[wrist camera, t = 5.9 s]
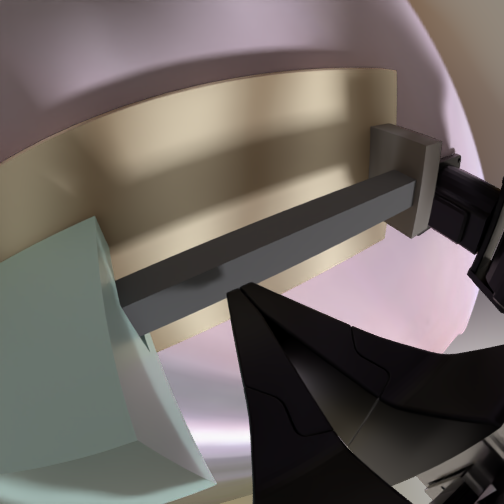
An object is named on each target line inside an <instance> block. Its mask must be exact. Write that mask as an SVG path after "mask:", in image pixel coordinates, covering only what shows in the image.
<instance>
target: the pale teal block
mask: <svg viewBox="0 0 504 504" xmlns="http://www.w3.org/2000/svg"><path fill="white" fill-rule="evenodd" d="M214 485H217V483H216V481H215V480H214V478H213V476H212V474H211V472H210V470H209V469H208V467H207V465H206V463H205V461H204V459H203V457H202V455H201V453H200V451H199V449H198V447H197V445H196V443H195V441H194V439H193V437H192V435H191V433H190V431H189V429H188V427H187V425H186V422H185V420H184V418H183V416H182V414H181V411H180V409H179V407H178V405H177V402H176V400H175V398H174V395H173V393H172V390H171V388H170V386H169V383H168V381H167V378H166V376H165V373H164V371H163V368H162V365H161V363H160V360H159V357H158V355H157V352H156V349H155V347H154V344H153V341H152V338H151V335H150V333H147V334H145V335H143V336H140V337H139V335H138V333H137V332H136V330H135V329H134V327H133V326H132V324H131V322H130V321H129V319H128V318H127V316H126V314H125V313H124V311H123V309H122V308H121V306H120V303H119V298H118V294H117V289H116V284H115V279H114V273H113V268H112V262H111V256H110V250H109V246H108V244H107V242H106V240H105V238H104V235H103V233H102V231H101V229H100V226H99V224H98V222H97V219H96V217H95V216H93V217H91V218H88V219H86V220H84V221H82V222H80V223H77V224H75V225H73V226H71V227H69V228H67V229H65V230H63V231H60V232H58V233H56V234H54V235H52V236H50V237H48V238H46V239H44V240H42V241H40V242H38V243H36V244H34V245H32V246H31V247H29V248H27V249H25V250H23V251H21V252H19V253H17V254H15V255H14V256H12V257H10V258H8V259H6V260H5V261H3V262H1V263H0V504H164V503H167V502H170V501H173V500H176V499H179V498H182V497H185V496H188V495H191V494H194V493H196V492H199V491H202V490H204V489H207V488H210V487H212V486H214Z"/></svg>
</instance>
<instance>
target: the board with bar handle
mask: <svg viewBox="0 0 504 504" xmlns="http://www.w3.org/2000/svg"><path fill="white" fill-rule="evenodd" d="M396 116H397V71H396V70H390V69H383V68H321V69H305V70H292V71H282V72H273V73H265V74H258V75H251V76H244V77H238V78H232V79H227V80H221V81H216V82H211V83H207V84H202V85H197V86H193V87H189V88H185V89H181V90H177V91H173V92H169V93H165V94H162V95H158V96H155V97H151V98H148V99H145V100H142V101H138V102H135V103H132V104H129V105H126V106H123V107H120V108H118V109H115V110H112V111H109V112H106V113H104V114H101V115H99V116H96V117H93V118H91V119H88V120H86V121H84V122H81V123H79V124H76V125H74V126H72V127H69V128H67V129H65V130H63V131H61V132H58V133H56V134H54V135H52V136H50V137H48V138H46V139H44V140H42V141H40V142H38V143H36V144H34V145H32V146H30V147H28V148H26V149H24V150H23V151H21V152H19V153H17V154H15V155H14V156H12V157H10V158H8V159H7V160H5V161H3V162H2V163H0V263H1V262H3V261H5V260H6V259H8V258H10V257H12V256H14V255H15V254H17V253H19V252H21V251H23V250H25V249H27V248H29V247H31V246H32V245H34V244H36V243H38V242H40V241H42V240H44V239H46V238H48V237H50V236H52V235H54V234H56V233H58V232H60V231H63V230H65V229H67V228H69V227H71V226H73V225H75V224H77V223H80V222H82V221H84V220H86V219H88V218H91V217H93V216H95V217H96V219H97V222H98V224H99V226H100V229H101V231H102V233H103V235H104V238H105V240H106V242H107V244H108V246H109V250H110V256H111V262H112V268H113V273H114V279H115V280H118V279H120V278H122V277H125V276H127V275H129V274H132V273H134V272H136V271H138V270H141V269H143V268H145V267H148V266H150V265H152V264H155V263H157V262H160V261H162V260H164V259H167V258H169V257H171V256H174V255H176V254H179V253H181V252H183V251H186V250H188V249H190V248H193V247H195V246H198V245H200V244H203V243H205V242H207V241H210V240H212V239H215V238H217V237H220V236H222V235H225V234H227V233H229V232H232V231H234V230H237V229H239V228H242V227H244V226H247V225H249V224H252V223H254V222H257V221H259V220H262V219H265V218H267V217H270V216H272V215H275V214H277V213H280V212H282V211H285V210H287V209H290V208H293V207H295V206H298V205H300V204H303V203H306V202H308V201H311V200H313V199H316V198H319V197H321V196H324V195H327V194H329V193H332V192H335V191H337V190H340V189H343V188H345V187H348V186H351V185H353V184H356V183H359V182H361V181H364V180H367V179H370V178H372V177H375V176H378V175H381V174H383V173H386V172H389V171H392V170H396V171H399V172H401V173H403V174H405V175H407V176H409V177H411V178H414V179H416V180H417V181H416V188H415V195H414V201H413V206H412V207H410V208H408V209H406V210H404V211H402V212H400V213H398V214H396V215H395V216H393V217H391V218H389V219H387V220H385V221H383V222H381V223H379V224H377V225H375V226H373V227H371V228H369V229H367V230H366V231H364V232H362V233H360V234H358V235H356V236H354V237H352V238H350V239H348V240H346V241H344V242H342V243H340V244H338V245H336V246H334V247H332V248H330V249H328V250H326V251H324V252H322V253H320V254H318V255H316V256H314V257H312V258H310V259H308V260H306V261H304V262H301V263H299V264H297V265H295V266H293V267H291V268H289V269H287V270H285V271H283V272H281V273H279V274H277V275H275V276H272V277H270V278H268V279H266V280H264V281H262V282H260V283H258V285H260V286H262V287H265V288H267V289H269V290H271V291H274V292H276V293H278V294H282V293H284V292H286V291H288V290H290V289H292V288H294V287H296V286H298V285H300V284H302V283H304V282H306V281H308V280H310V279H311V278H313V277H315V276H317V275H319V274H321V273H323V272H325V271H327V270H328V269H330V268H332V267H334V266H336V265H338V264H340V263H341V262H343V261H345V260H347V259H349V258H351V257H352V256H354V255H356V254H358V253H360V252H361V251H363V250H365V249H367V248H369V247H370V246H372V245H374V244H376V243H378V242H379V241H381V240H383V239H384V238H385V232H386V225H387V224H389V225H390V226H392V227H394V228H395V229H397V230H398V231H400V232H401V233H403V234H405V235H406V236H408V237H409V238H411V239H412V238H413V237H415V236H416V235H418V234H419V233H421V232H422V231H424V230H425V229H427V226H428V222H429V217H430V213H431V208H432V203H433V198H434V192H435V187H436V181H437V175H438V168H439V162H440V154H441V146H442V141H439V140H437V139H434V138H431V137H429V136H426V135H423V134H420V133H418V132H415V131H412V130H409V129H406V128H403V127H400V126H397V125H396ZM229 319H230V314H229V308H228V302H227V298H226V299H223V300H221V301H219V302H217V303H215V304H213V305H210V306H208V307H206V308H204V309H202V310H199V311H197V312H195V313H193V314H190V315H188V316H186V317H184V318H181V319H179V320H177V321H175V322H172V323H170V324H168V325H166V326H163V327H161V328H159V329H157V330H154V331H152V332H150V335H151V338H152V341H153V344H154V347H155V349H156V352H159V351H161V350H164V349H166V348H168V347H170V346H173V345H175V344H177V343H179V342H182V341H184V340H186V339H188V338H191V337H193V336H195V335H197V334H199V333H202V332H204V331H206V330H208V329H210V328H212V327H214V326H217V325H219V324H221V323H223V322H225V321H227V320H229Z"/></svg>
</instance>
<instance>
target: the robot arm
mask: <svg viewBox="0 0 504 504" xmlns="http://www.w3.org/2000/svg"><path fill="white" fill-rule="evenodd" d="M460 162H461V155H459V154H454V155H451V156H449V157H446V158H443V159H441V160H440V162H439V168H438V175H437V181H436V187H435V192H434V198H433V203H432V208H431V213H430V217H429V222H428V226H427V229H425V230H424V231H422V232H421V233H419V234H418V236H419V235H421V234H422V233H424V232H425V231H427V230H428V229H430V228H432V229H434V230H435V231H437V232H439V233H440V234H442V235H443V236H445V237H446V238H448V239H449V240H451V241H453V242H454V243H456V244H459V245H461V246H462V247H464V248H465V249H467V250H468V251H470V252H471V253H472V254H474V255H475V254H477V255H476V258H475V260H474V262H473V264H472V266H471V268H469V271H468V273H467V275H468V276H469V277H470V278H471V279H472V280H473V282H474V283H475V284H476V286H477V287H478V288H479V289H480V290H481V291H482V292H483V293H484V294H485V295H486V296H487V298H488V299H489V300H490V301H491V302H492V303H493V304H494V305H495V307H496V308H497V309H498V310H499V311H500V312H501V313H504V232H503V235H502V237H501V239H500V242H499V244H498V247H497V249H496V251H495V254H494V256H493V258H492V260H490V259H491V257H492V255H493V252H494V250H495V248H496V246H497V243H498V241H499V238H500V236H501V233H502V231H503V228H504V177H503V180H502V183H503V184H502V187H501V189H499V188H497V187H495V186H494V185H492V184H489V183H488V182H486V181H484V180H482V179H480V178H478V177H476V176H474V175H472V174H470V173H468V172H466V171H464V170H462V169H460ZM226 297H227V302H228V308H229V314H230V319H231V325H232V330H233V336H234V341H235V347H236V352H237V357H238V362H239V368H240V373H241V378H242V383H243V387H244V394H245V399H246V404H247V410H248V416H249V427H250V440H251V460H252V479H253V504H412V503H411V502H410V501H409V500H407V499H406V498H405V497H404V496H402V495H401V494H400V493H399V492H397V491H396V490H395V489H394V488H393V487H391V486H393V485H395V484H398V483H400V482H403V481H405V480H408V479H410V478H412V477H414V476H417V477H418V478H419V480H420V481H421V482H422V483H423V484H424V485H425V486H426V487H427V488H426V489H425V492H426V493H427V494H428V495H429V497H430V498H431V499H432V500H433V501H432V502H431V503H429V504H504V345H499V346H495V347H490V348H485V349H480V350H475V351H469V352H464V353H458V354H439V353H434V352H430V351H426V350H422V349H419V348H415V347H412V346H408V345H405V344H401V343H398V342H394V341H391V340H388V339H385V338H382V337H379V336H376V335H374V334H371V333H368V332H366V331H363V330H361V329H359V328H356V327H354V326H352V327H351V326H350V325H349V324H347V323H344V322H342V321H340V320H337V319H335V318H333V317H330V316H328V315H326V314H323V313H321V312H319V311H316V310H314V309H312V308H310V307H307V306H305V305H303V304H300V303H298V302H296V301H294V300H291V299H289V298H287V297H285V296H282V295H280V294H278V293H276V292H274V291H271V290H269V289H267V288H265V287H262V286H260V285H258V284H256V283H254V282H249V283H247V284H245V285H242V286H240V288H236V289H234V290H231V291H229V292H227V293H226ZM333 430H334V431H333ZM338 436H339V437H340V438H341V439H340V438H339V437H338ZM341 440H342V441H343V442H344V443H345V444H346V445H347V446H348V448H349V449H350V450H351V451H352V452H353V453H354V454H353V453H352V452H351V451H350V450H349V449H348V448H347V447H346V446H345V444H344V443H343V442H342V441H341Z"/></svg>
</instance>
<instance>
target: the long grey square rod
mask: <svg viewBox="0 0 504 504" xmlns="http://www.w3.org/2000/svg"><path fill="white" fill-rule="evenodd" d="M416 181H417V180H416V179H414V178H411V177H409V176H407V175H405V174H403V173H401V172H399V171H396V170H392V171H389V172H386V173H383V174H381V175H378V176H375V177H372V178H370V179H367V180H364V181H361V182H359V183H356V184H353V185H351V186H348V187H345V188H343V189H340V190H337V191H335V192H332V193H329V194H327V195H324V196H321V197H319V198H316V199H313V200H311V201H308V202H306V203H303V204H300V205H298V206H295V207H293V208H290V209H287V210H285V211H282V212H280V213H277V214H275V215H272V216H270V217H267V218H265V219H262V220H259V221H257V222H254V223H252V224H249V225H247V226H244V227H242V228H239V229H237V230H234V231H232V232H229V233H227V234H225V235H222V236H220V237H217V238H215V239H212V240H210V241H207V242H205V243H203V244H200V245H198V246H195V247H193V248H190V249H188V250H186V251H183V252H181V253H179V254H176V255H174V256H171V257H169V258H167V259H164V260H162V261H160V262H157V263H155V264H152V265H150V266H148V267H145V268H143V269H141V270H138V271H136V272H134V273H132V274H129V275H127V276H125V277H122V278H120V279H118V280H115V284H116V289H117V294H118V298H119V303H120V306H121V308H122V309H123V311H124V313H125V314H126V316H127V318H128V319H129V321H130V322H131V324H132V326H133V327H134V329H135V330H136V332H137V333H138V335H139V337H140V336H143V335H145V334H147V333H150V332H152V331H154V330H157V329H159V328H161V327H163V326H166V325H168V324H170V323H172V322H175V321H177V320H179V319H181V318H184V317H186V316H188V315H190V314H193V313H195V312H197V311H199V310H202V309H204V308H206V307H208V306H210V305H213V304H215V303H217V302H219V301H221V300H223V299H226V298H227V297H226V293H227V292H229V291H231V290H234V289H236V288H240V286H242V285H245V284H247V283H249V282H254V283H256V284H258V283H260V282H262V281H264V280H266V279H268V278H270V277H272V276H275V275H277V274H279V273H281V272H283V271H285V270H287V269H289V268H291V267H293V266H295V265H297V264H299V263H301V262H304V261H306V260H308V259H310V258H312V257H314V256H316V255H318V254H320V253H322V252H324V251H326V250H328V249H330V248H332V247H334V246H336V245H338V244H340V243H342V242H344V241H346V240H348V239H350V238H352V237H354V236H356V235H358V234H360V233H362V232H364V231H366V230H367V229H369V228H371V227H373V226H375V225H377V224H379V223H381V222H383V221H385V220H387V219H389V218H391V217H393V216H395V215H396V214H398V213H400V212H402V211H404V210H406V209H408V208H410V207H412V206H413V201H414V195H415V188H416Z"/></svg>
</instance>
